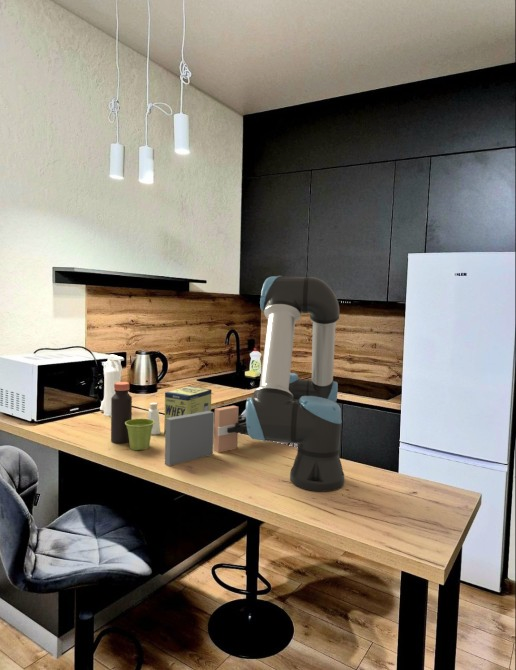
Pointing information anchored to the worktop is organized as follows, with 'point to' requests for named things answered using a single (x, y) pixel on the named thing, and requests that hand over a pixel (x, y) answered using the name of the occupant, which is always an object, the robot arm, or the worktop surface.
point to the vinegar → (120, 412)
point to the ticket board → (189, 437)
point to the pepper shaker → (154, 418)
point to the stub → (222, 419)
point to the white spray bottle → (110, 381)
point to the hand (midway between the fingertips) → (215, 430)
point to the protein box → (186, 402)
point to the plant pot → (139, 433)
